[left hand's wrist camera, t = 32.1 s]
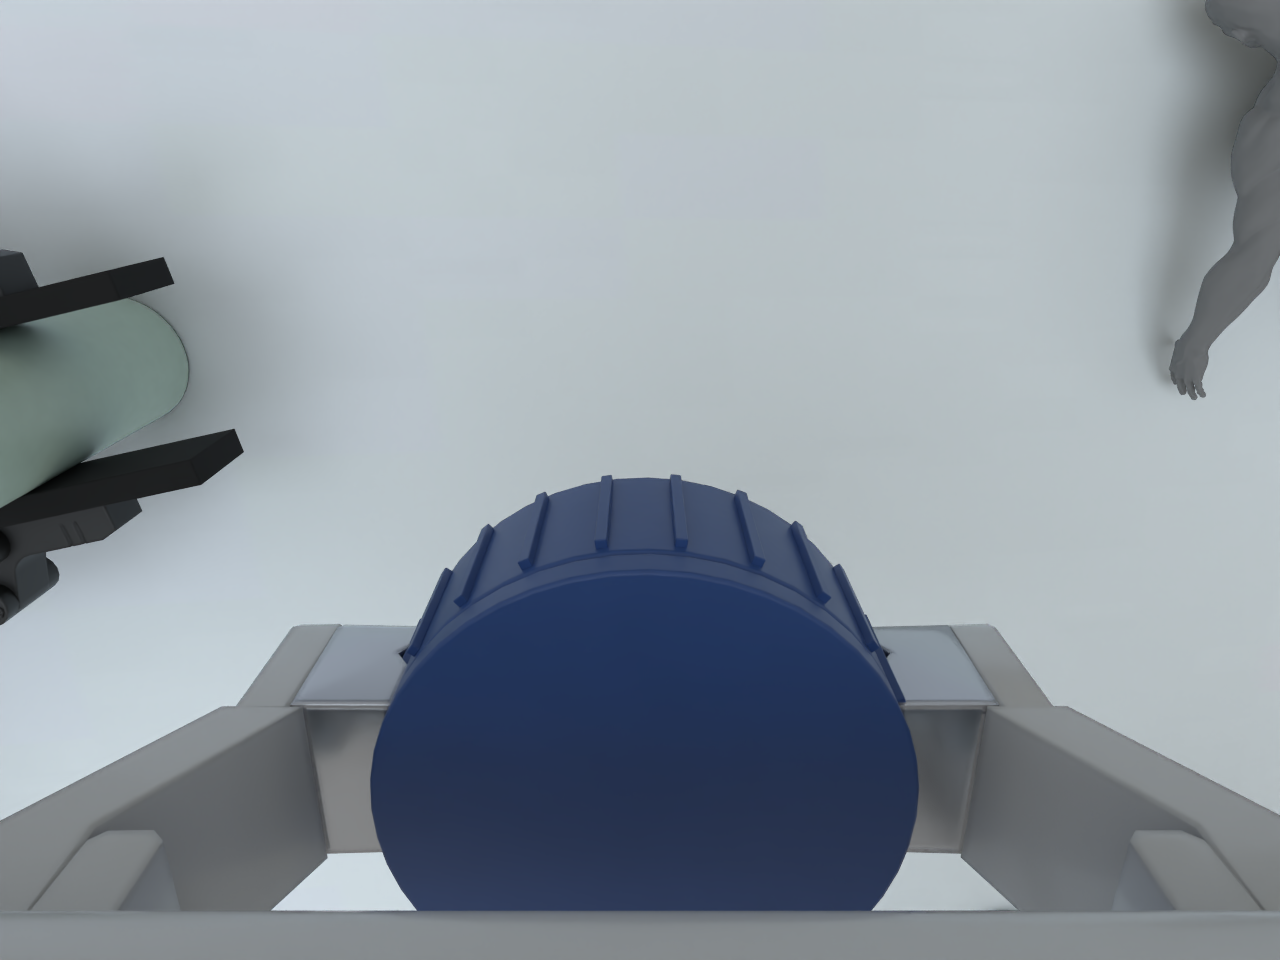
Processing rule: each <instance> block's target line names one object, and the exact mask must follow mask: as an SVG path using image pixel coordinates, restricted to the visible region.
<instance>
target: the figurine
mask: <svg viewBox="0 0 1280 960" xmlns="http://www.w3.org/2000/svg"><path fill="white" fill-rule="evenodd" d="M1205 8H1206V12H1207V15H1208V17H1209V18H1210V19H1211V20H1212V22H1213V24H1214V25H1217V26H1219V27H1221V29H1222V31H1223V33H1224V34H1226V35H1228V36H1231V37H1234V38H1236V39H1238V40H1239V41H1240V42H1242V44H1245V45H1246V46H1248V47H1251V48H1254V47H1260V46H1262V47H1263V48H1264V49H1265V50H1266V51H1267V52H1269V53H1270V54H1271V55H1272V56H1273V57H1274V58H1275V59H1276V60H1277V67H1276V71H1275V73H1274V75H1273V77H1272V78H1271V79H1270V81H1269V82H1268V83H1267V84H1266V86H1265V87H1264V88H1263V89H1262V91H1261V92H1260V94H1259V96H1258V98H1257V100H1256V103H1255V105H1254V107H1253V108H1252V109H1251V110H1250V111H1249V112H1247V113H1246V114H1245V115H1244V116H1243V118H1242V120H1241V122H1240V125H1239V129H1238V133H1237V137H1236V140H1235V143H1234V146H1233V150H1232V156H1231V174H1232V180H1233V184H1234V187H1235V190H1236V193H1237V195H1238V200H1237V204H1236V208H1235V213H1234V219H1233V234H1234V243H1233V245H1232V247H1231V248H1230V250H1229V252H1228V253H1227V254H1226V255H1225V256H1224V257H1223V258H1222V259H1220V260H1219V261H1218V262H1217V263H1216V264H1215V265H1214V266H1213V267H1212V268H1211V269H1210V270H1209V272H1208V273H1207V274H1206V276H1205V277H1204V279H1203V282H1202V285H1201V288H1200V292H1199V295H1198V299H1197V304H1196V308H1195V312H1194V317H1193V320H1192V322H1191V324H1190V326H1189V327H1188V329H1187V330H1186V331H1185V332H1184V334H1183V335H1182V336H1181V338H1180V339H1179V340H1177V341H1176V342H1175V348H1174V352H1173V356H1172V360H1171V364H1170V368H1169V370H1170V371H1171V373H1170V375H1171V379H1172V381H1173V383H1174V384H1177V388H1178V390H1179V393H1180V394H1181V395H1184V394H1186V391H1187V392H1188V394H1189V396H1190V397H1191V399H1192V400H1196V399H1197V395H1196V393H1195V389H1196V390H1197V394H1199V395H1200V397H1205V396H1206V394H1205V392H1204V389H1203V388H1202V382H1201V381H1202V378H1203V375H1204V372H1205V370H1206V367H1207V364H1208V349H1209V347H1210V346H1211V344H1212V343H1213V342H1214V341H1215V339H1216V338H1217V337H1218V336H1219V335H1220V334H1221V333H1222V331H1223V330H1224V329H1225V328H1226V327H1227V326H1228V325H1229V324H1231V323H1232V322H1233V321H1234V320H1235V319H1236V318H1237V317H1238V316H1239V315H1240V314H1241V313H1242V312H1243V311H1244V310H1245V309H1246V308H1247V307H1248V306H1249V304H1250V303H1251V302H1252V301H1253V300H1254V299H1255V298H1256V297H1257V296H1258V295H1259V294H1260V293H1261V292H1262V291H1263V290H1264V289H1265V287H1266V286H1267V284H1268V282H1269V280H1270V276H1271V272H1272V269H1273V266H1274V264H1275V263H1276V261H1277V260H1278V258H1279V256H1280V0H1206V2H1205ZM1194 385H1195V387H1194ZM1186 387H1187V389H1186Z"/></svg>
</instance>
